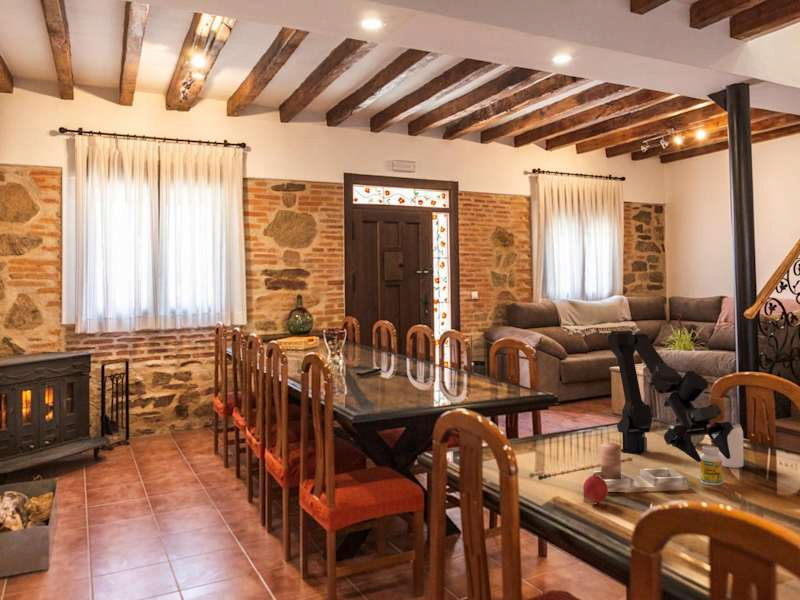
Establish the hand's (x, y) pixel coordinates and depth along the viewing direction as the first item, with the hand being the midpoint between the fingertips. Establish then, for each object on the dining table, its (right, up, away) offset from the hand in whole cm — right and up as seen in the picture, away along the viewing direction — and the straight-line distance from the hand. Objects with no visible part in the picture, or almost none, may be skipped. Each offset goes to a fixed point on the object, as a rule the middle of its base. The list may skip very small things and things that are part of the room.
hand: (714, 459), depth 163 cm
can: (+13, -6, +16) cm, 22 cm away
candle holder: (-21, -7, 0) cm, 22 cm away
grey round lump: (+13, -6, +40) cm, 42 cm away
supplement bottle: (0, -7, +2) cm, 7 cm away
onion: (-36, -8, -12) cm, 39 cm away
